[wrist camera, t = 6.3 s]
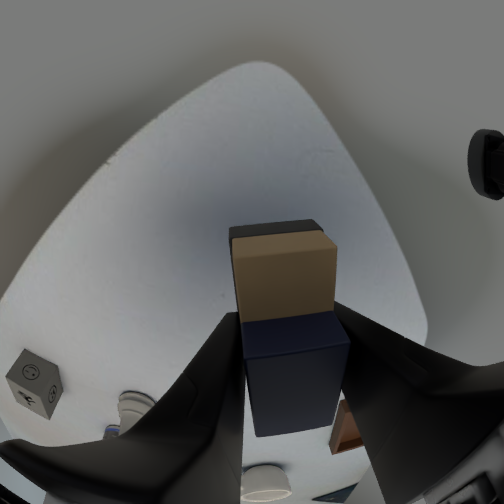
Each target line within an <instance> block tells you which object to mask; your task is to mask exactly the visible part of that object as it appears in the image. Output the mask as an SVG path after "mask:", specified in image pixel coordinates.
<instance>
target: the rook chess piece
mask: <svg viewBox="0 0 504 504" xmlns="http://www.w3.org/2000/svg"><path fill="white" fill-rule="evenodd" d="M154 405H155V403H154V402H153V401H152V400H151V399H150V398H149V397H147V396H145V395H143V394H140V393H137V392H128V393H125V394H122V395H121V396H120V397H119V403H118V412H119V417H120V419H121V422H120V431H119V435H121V434H123V433H124V432H126V431H127V430H129V429H130V428H131V427H132V426H133V425H134V424H135V423H136V422H137V421H138V420H139V419H140V418H141V417H143V416H144V415H145V414H146V413H147V412H148V411H149V410H150V409H151V408H152V407H153V406H154ZM119 435H118V436H119Z"/></svg>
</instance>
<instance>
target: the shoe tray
mask: <svg viewBox="0 0 504 504" xmlns="http://www.w3.org/2000/svg"><path fill="white" fill-rule="evenodd" d="M361 446H364V444H363V441H362V439H361V436H360V434H359V431H358V429H357V426H356V424H355V421H354V419H353V416H352V414H351V411H350V409H349V406H348V404H347V401H346V399H345V400H341V401H340V405H339V409H338V413H337V417H336V421H335V425H334V428H333V432H332V436H331V439H330V443H329V447H330V450H331V453H332V455H334V454H338V453H341V452H345V451H348V450H352V449H355V448H358V447H361Z"/></svg>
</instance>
